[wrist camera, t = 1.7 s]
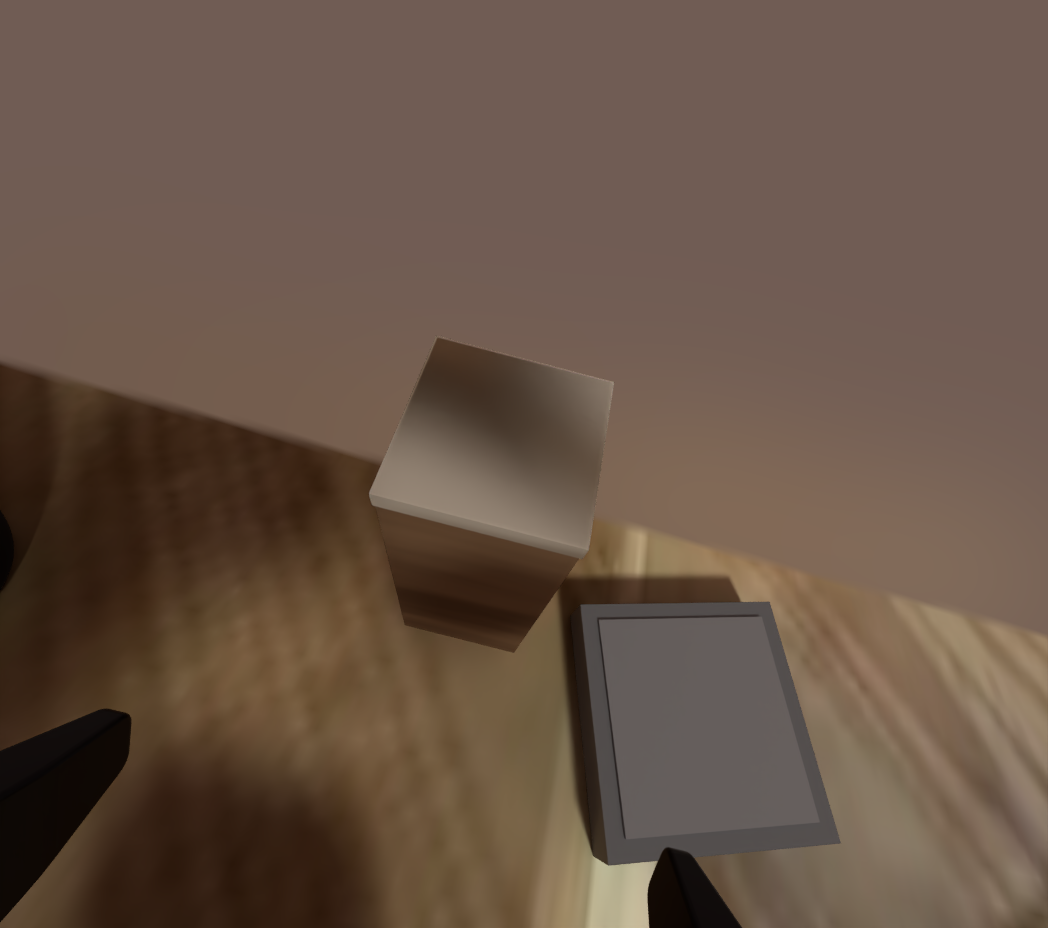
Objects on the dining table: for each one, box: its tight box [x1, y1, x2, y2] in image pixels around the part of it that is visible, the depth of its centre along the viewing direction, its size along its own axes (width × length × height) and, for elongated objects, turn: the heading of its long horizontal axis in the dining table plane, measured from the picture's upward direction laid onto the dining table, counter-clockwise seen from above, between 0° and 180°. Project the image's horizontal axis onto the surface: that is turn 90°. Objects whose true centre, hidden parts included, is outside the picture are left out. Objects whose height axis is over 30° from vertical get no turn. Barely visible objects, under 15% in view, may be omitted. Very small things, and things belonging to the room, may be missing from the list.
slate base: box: [570, 602, 840, 866], centre depth 21 cm, size 9×9×2 cm
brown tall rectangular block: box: [369, 336, 614, 652], centre depth 18 cm, size 5×5×13 cm
